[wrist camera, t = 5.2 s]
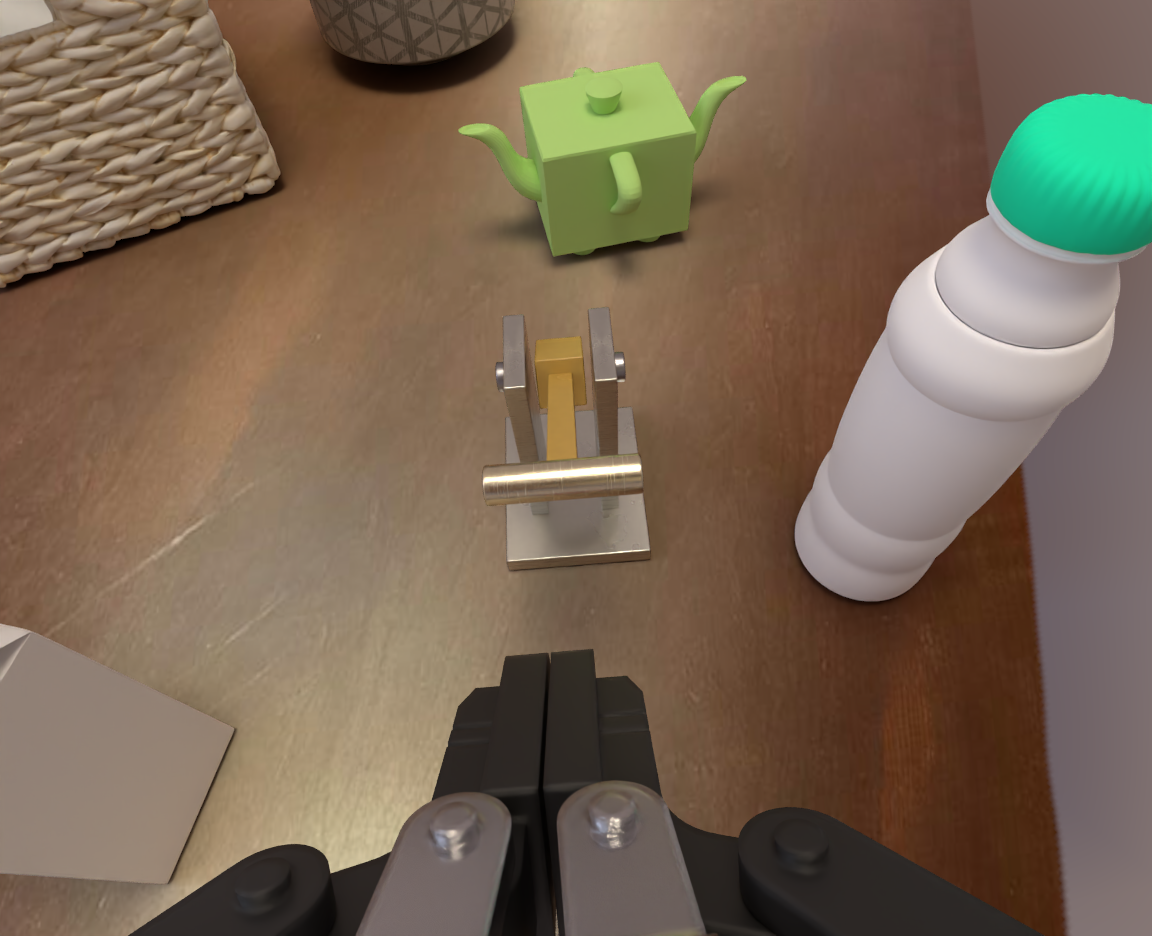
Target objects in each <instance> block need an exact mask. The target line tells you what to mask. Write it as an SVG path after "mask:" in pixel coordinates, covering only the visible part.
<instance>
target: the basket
mask: <svg viewBox="0 0 1152 936" xmlns="http://www.w3.org/2000/svg"><path fill="white" fill-rule="evenodd" d="M231 56H232V62H231ZM232 63H233V64H232ZM279 175H280V169H279V167H278V164H277V161H276V156H275V152H274V150H273V148H272V146H271V144H270V142H269V138H268V136H267V133H266V132H265V130H264V128H263V127H262V124H261V121H260V119H259V117H258V115H257V114H256V110H255V107H254V106H253V104H252V103H251V101H250V99H249V97H248V95H247V93H246V89H245V87H244V85H243V83H242V81H241V79H240V78H239V77H238V74H237V72H236V59H235V55H234V53H233V50H232V48H231V47H230V45H229V43H228V42H227V41H226V40H225V39H223V38H222V33H221V31H220V28H219V25H218V23H217V20H216V18H215V16H214V14H213V12H212V10H211V9H210V8H209V7H208V0H0V288H4V287H6V284H7V283H10V282H14V281H17V280H19V279H21V278H22V276H23V275H24V274H28V273H35V272H41V271H46V270H48V269H50V268H52V266H53V263H57V262H65V261H72V260H76V259H79V258H81V257H83V255H84V254H83V253H82V252H87V251H89V250H90V251H94V250H98V249H105V248H110V247H112V246H114V245H115V243H116V241H117V240H121V239H124V238H130V237H136V236H140V235H144V234H147V233H149V232H150V229H163V228H165V227H168V226H170V225H172V224H175V223H178V222H179V221H180V219H181V218H180V217H181V216H192V215H197V214H200V213H202V212H204V211H206V210H207V209H209V208H210V207H211V206H217V205H221V204H225V203H230V202H233V201H239V200H241V199H242V198H243V195H244V193H248V194H261V193H265V192H267V191H268V190H270V189H271V188H272V187H273V186H274V185H275V184H274V180H277V179H278V177H279Z"/></svg>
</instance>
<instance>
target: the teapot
mask: <svg viewBox="0 0 1152 936" xmlns="http://www.w3.org/2000/svg"><path fill="white" fill-rule="evenodd" d="M745 81H746V78H745V77H743V76H734V77H728V78H724V79H721V80H719V81H717V82H715V83H714V84H712V85H711V86H710V87H709V88H708V89H707V90H706V91H705V92H704V94H703V95H702V96H701V98H700V100H699V102H698V104H697V105H696V107H695V109H694V111H693V113H692V115H691V116H690V118H689V117H688V115H687V114H686V112H685V110H684V108H683V106H682V104H681V102H680V100H679V98H678V97H677V95H676V93H675V91H674V89H673V87H672V86H671V84H670V82H669V80H668V78H667V76H666V74H665V73H664V71H663V69H662V67H661V65H660V63H659V62H655V63H649V64H643V65H638V66H632V67H626V68H621V69H615V70H609V71H604V72H598V73H594V72H593V71H592V70H591V69H590V68H586V67H584V68H579V69H577V70H576V71H575V72H574V74H573V77H570V78H565V79H560V80H554V81H549V82H543V83H538V84H533V85H528V86H523V87H520V89H519V91H520V99H521V107H522V115H523V122H524V130H525V138H526V146H527V154H528V158H524V157H522V156H520V155H518V154H517V153H516V152H515V150H514V149H513V147H512V146H511V144H510V142H509V140H508V139H507V137H506V136H505V134H504V133H503V132H502V131H501V130H500V129H498V128H496V127H495V126H493V125H490V124H471V125H467V126H464V127H461V128H460V129H459V130H458V131H459V133H461V134H463V135H466V136H470V137H473V138H476V139H479V140H480V141H482V142H483V143H485V144H486V145H487V146H488V147H489V148H490V149H491V150H492V152H493V153H494V155H495V156H496V158H497V160H498V162H499V164H500V166H501V168H502V170H503V172H504V174H505V175H506V177H507V179H508V180H509V182H510V183H511V184H512V186H513V187H514V188H515V190H517V191H518V192H519V193H520V194H521V195H523V196H525V197H527V198H529V199H531V200H535V201H537V204H538V208H539V211H540V214H541V218H542V221H543V224H544V228H545V231H546V234H547V238H548V241H549V245H550V248H551V251H552V254H553V256H559V255H564V254H569V253H574V254H577V255H587V254H590V253H591V252H593V251H594V250H595V248H600V247H605V246H610V245H615V244H620V243H625V242H630V241H635V240H639V241H642V242H652V241H655V240H657V239H658V238H659V237H660V235H665V234H670V233H675V232H680V231H685V230H688V223H689V212H690V201H691V191H692V180H693V169H694V163H695V161H696V160H697V159H698V157H699V156H700V154H701V152H702V150H703V148H704V146H705V143H706V140H707V137H708V134H709V131H710V128H711V125H712V122H713V119H714V116H715V114H716V112H717V109H718V108H719V106H720V104H721V103H722V101H723V100H724V99H725V98H726V97H727V96H728V94H730V93H731V92H732V91H734V90H735V89H736V88H738V87H739V86H741V85H742V84H743V83H745Z"/></svg>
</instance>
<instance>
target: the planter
mask: <svg viewBox="0 0 1152 936" xmlns="http://www.w3.org/2000/svg"><path fill="white" fill-rule="evenodd" d="M310 3H311V6H312V9H313V12H314V14H315V17H316V20H317V23H318V26H319V29H320V32H321V34H322V36H323V38H324V40H325V41H326V42H327V44H328V45H329V46H330V47H332V48H333V49H334V50H336V51H337V52H339V53H341V54H343V55H345V56H348V57H350V58H353V59H357V60H361V61H365V62H371V63H380V64H394V65H405V66H417V65H426V64H432V63H436V62H440V61H443V60H446V59H449V58H451V57H454V56H456V55H458V54H460V53H462V52H463V51H465V50H468V49H470V48H472V47H474V46H476V45H479V44H480V43H482V42H484V41H486V40H487V39H489V38H490V37H492V36H493V35H494V34H495V33H497V32H498V31H499V30H500V29H501V28H502V27H503V26H504V25H505V24H506V23H507V21H508V20H509V18H510V17H511V15H512V12H513V10H514V4H515V0H310Z"/></svg>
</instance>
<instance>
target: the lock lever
mask: <svg viewBox="0 0 1152 936" xmlns="http://www.w3.org/2000/svg"><path fill="white" fill-rule="evenodd" d="M534 362H535V371H536V380H537V388H538V397H539V406H540V408H541V409H542V408H547V460H545V461H532V462H520V463H508V464H496V465H485V466H484V467H483V471H482V486H483V495H484V500H485V503H486V505H487V506H497V505H510V504H522V503H535V502H547V501H559V500H572V499H584V498H597V497H609V496H621V495H634V494H642V493H643V469H642V461H641V456H640V454H639V453H631V454H618V455H606V456H594V457H582V458H578V451H577V435H576V418H575V406H578V405H586V404H587V399H586V386H585V373H584V360H583V350H582V340H581V337H580V336H579V337H567V338H555V339H543V340H536V346H535V361H534Z"/></svg>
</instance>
